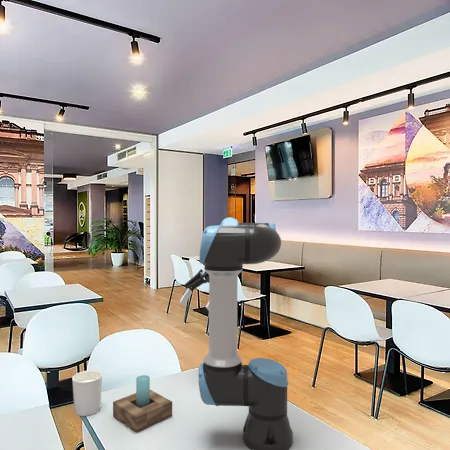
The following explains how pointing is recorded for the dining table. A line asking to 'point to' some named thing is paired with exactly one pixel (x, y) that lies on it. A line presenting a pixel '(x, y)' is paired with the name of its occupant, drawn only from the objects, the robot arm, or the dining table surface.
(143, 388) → the teal peg
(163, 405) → the walnut block
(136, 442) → the dining table surface
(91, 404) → the candle holder
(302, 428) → the dining table surface
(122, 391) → the dining table surface
